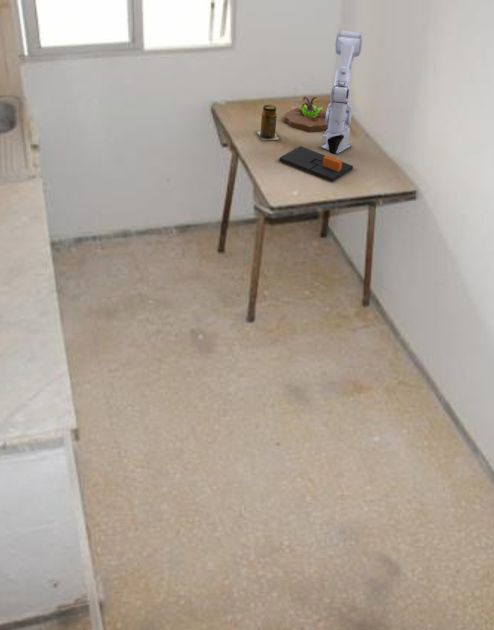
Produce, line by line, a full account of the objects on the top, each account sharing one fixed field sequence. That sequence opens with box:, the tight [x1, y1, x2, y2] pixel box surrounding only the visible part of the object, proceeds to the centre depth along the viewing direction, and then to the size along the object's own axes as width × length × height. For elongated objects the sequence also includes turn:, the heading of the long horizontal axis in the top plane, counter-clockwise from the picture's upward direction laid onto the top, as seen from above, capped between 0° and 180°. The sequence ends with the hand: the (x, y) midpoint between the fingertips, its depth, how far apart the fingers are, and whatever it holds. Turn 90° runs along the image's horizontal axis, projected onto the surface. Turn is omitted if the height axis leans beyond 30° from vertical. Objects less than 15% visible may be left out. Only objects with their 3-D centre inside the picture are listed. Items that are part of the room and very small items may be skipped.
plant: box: [283, 96, 328, 133], centre depth 304 cm, size 20×20×11 cm
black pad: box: [278, 145, 326, 174], centre depth 277 cm, size 14×14×2 cm
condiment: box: [256, 104, 280, 141], centre depth 290 cm, size 7×8×12 cm
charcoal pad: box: [309, 155, 354, 183], centre depth 271 cm, size 14×13×5 cm
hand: (332, 152), depth 274 cm, fingers closed
